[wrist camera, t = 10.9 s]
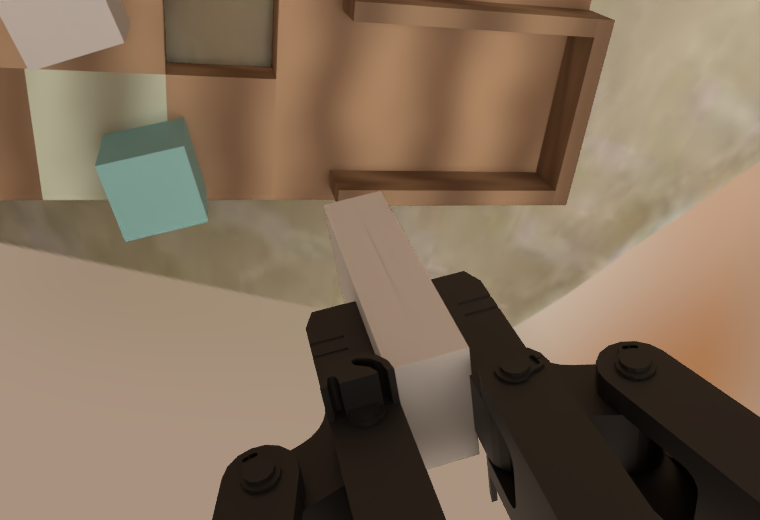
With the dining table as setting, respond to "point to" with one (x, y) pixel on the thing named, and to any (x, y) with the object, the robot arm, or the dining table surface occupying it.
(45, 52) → the grey block
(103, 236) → the dining table surface
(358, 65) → the tray
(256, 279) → the dining table surface
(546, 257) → the dining table surface
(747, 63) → the dining table surface
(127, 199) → the teal block
